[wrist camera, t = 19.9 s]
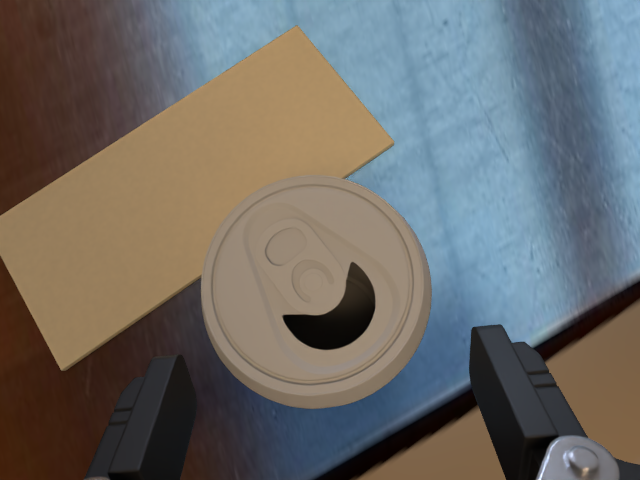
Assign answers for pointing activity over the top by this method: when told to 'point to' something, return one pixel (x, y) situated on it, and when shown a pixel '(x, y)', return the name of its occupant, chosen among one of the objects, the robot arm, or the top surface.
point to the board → (177, 192)
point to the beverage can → (315, 292)
